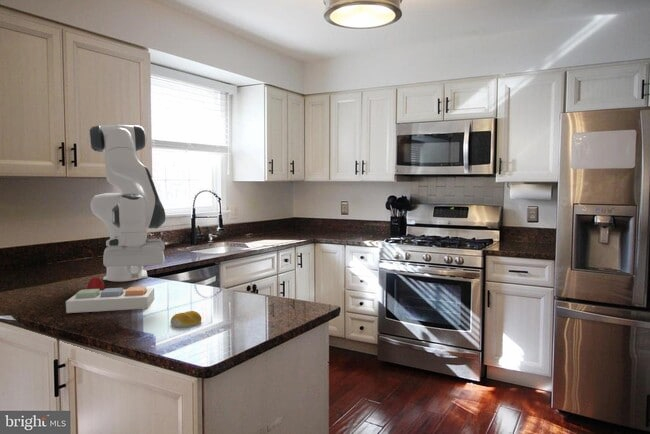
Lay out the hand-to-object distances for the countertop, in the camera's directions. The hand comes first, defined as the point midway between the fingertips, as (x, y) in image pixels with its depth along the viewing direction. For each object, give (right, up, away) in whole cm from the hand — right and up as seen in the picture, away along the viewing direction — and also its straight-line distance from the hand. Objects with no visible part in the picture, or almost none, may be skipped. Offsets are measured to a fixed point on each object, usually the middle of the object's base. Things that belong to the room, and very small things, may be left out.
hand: (135, 278), depth 167 cm
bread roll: (+25, -12, -23) cm, 36 cm away
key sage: (-16, -7, -2) cm, 17 cm away
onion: (-21, -9, +14) cm, 27 cm away
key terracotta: (0, -7, +1) cm, 7 cm away
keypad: (-8, -10, 0) cm, 12 cm away
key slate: (-8, -7, -1) cm, 11 cm away
